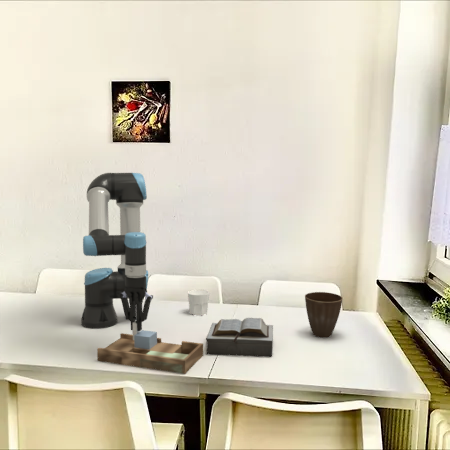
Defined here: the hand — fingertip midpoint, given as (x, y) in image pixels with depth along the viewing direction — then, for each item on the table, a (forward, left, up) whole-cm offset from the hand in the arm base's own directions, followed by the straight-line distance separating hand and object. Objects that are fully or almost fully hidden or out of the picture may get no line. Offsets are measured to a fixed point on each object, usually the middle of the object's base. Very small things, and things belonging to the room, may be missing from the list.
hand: (136, 339), depth 186 cm
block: (+4, 0, -2) cm, 4 cm away
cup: (+4, +53, -5) cm, 54 cm away
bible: (+34, +19, -6) cm, 39 cm away
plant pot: (+62, +42, -5) cm, 75 cm away
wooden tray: (+7, -3, -5) cm, 10 cm away
